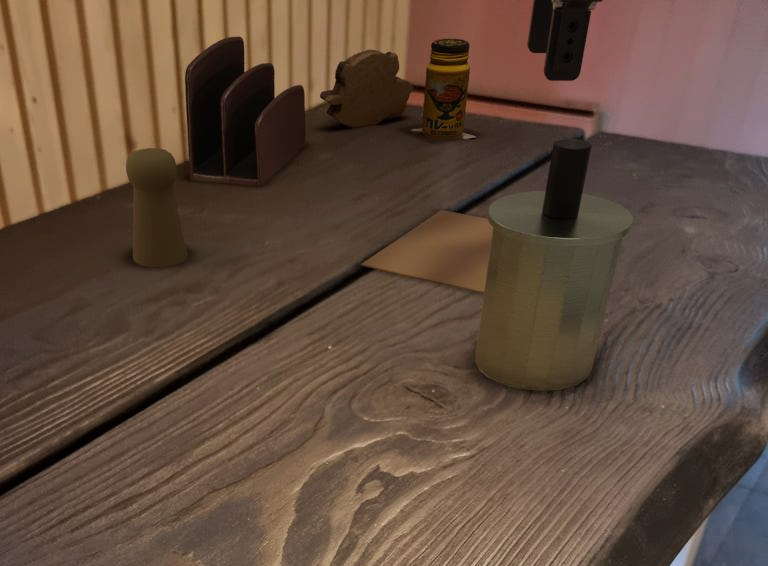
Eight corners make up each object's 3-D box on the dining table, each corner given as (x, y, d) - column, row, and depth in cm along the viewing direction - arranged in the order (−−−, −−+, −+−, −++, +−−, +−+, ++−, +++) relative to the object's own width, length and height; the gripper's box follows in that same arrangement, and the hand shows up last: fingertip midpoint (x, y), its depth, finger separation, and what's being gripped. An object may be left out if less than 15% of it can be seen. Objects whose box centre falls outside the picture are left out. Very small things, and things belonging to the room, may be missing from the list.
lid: (647, 220, 75) (668, 136, 71) (603, 265, 68) (623, 175, 64) (517, 197, 79) (529, 116, 75) (463, 237, 72) (473, 151, 68)
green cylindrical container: (605, 359, 83) (639, 213, 74) (566, 406, 77) (599, 253, 68) (500, 334, 87) (522, 193, 78) (456, 376, 81) (474, 228, 72)
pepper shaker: (127, 254, 102) (113, 146, 95) (179, 247, 104) (170, 139, 96) (140, 274, 98) (127, 162, 91) (195, 266, 100) (186, 155, 92)
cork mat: (603, 246, 103) (604, 240, 103) (538, 309, 91) (539, 303, 90) (440, 214, 111) (441, 209, 111) (360, 269, 99) (360, 264, 98)
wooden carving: (392, 113, 145) (396, 39, 139) (413, 119, 143) (418, 43, 136) (313, 133, 138) (314, 55, 131) (334, 139, 135) (336, 60, 128)
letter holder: (189, 183, 121) (179, 58, 111) (241, 141, 134) (237, 27, 125) (261, 190, 118) (257, 63, 109) (306, 147, 132) (307, 31, 123)
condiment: (437, 146, 132) (446, 48, 124) (401, 132, 137) (408, 38, 129) (476, 138, 135) (488, 42, 127) (440, 125, 140) (449, 32, 132)
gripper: (707, -282, 46) (629, 91, 57) (645, -269, 56) (589, 44, 67) (554, -279, 46) (505, 90, 57) (520, -267, 57) (485, 43, 68)
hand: (551, 65), depth 62 cm, fingers open, 8 cm apart
